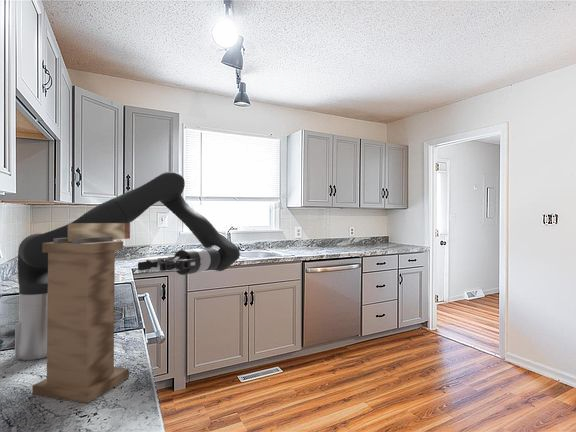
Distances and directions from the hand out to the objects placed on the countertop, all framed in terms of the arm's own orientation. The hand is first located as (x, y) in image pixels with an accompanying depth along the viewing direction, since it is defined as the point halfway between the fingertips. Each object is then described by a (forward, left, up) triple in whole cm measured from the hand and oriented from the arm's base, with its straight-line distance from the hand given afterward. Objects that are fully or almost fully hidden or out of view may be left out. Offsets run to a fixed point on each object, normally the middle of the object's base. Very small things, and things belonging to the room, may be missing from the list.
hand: (149, 266), depth 92 cm
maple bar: (-10, -8, +8) cm, 15 cm away
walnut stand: (-12, -12, -25) cm, 30 cm away
